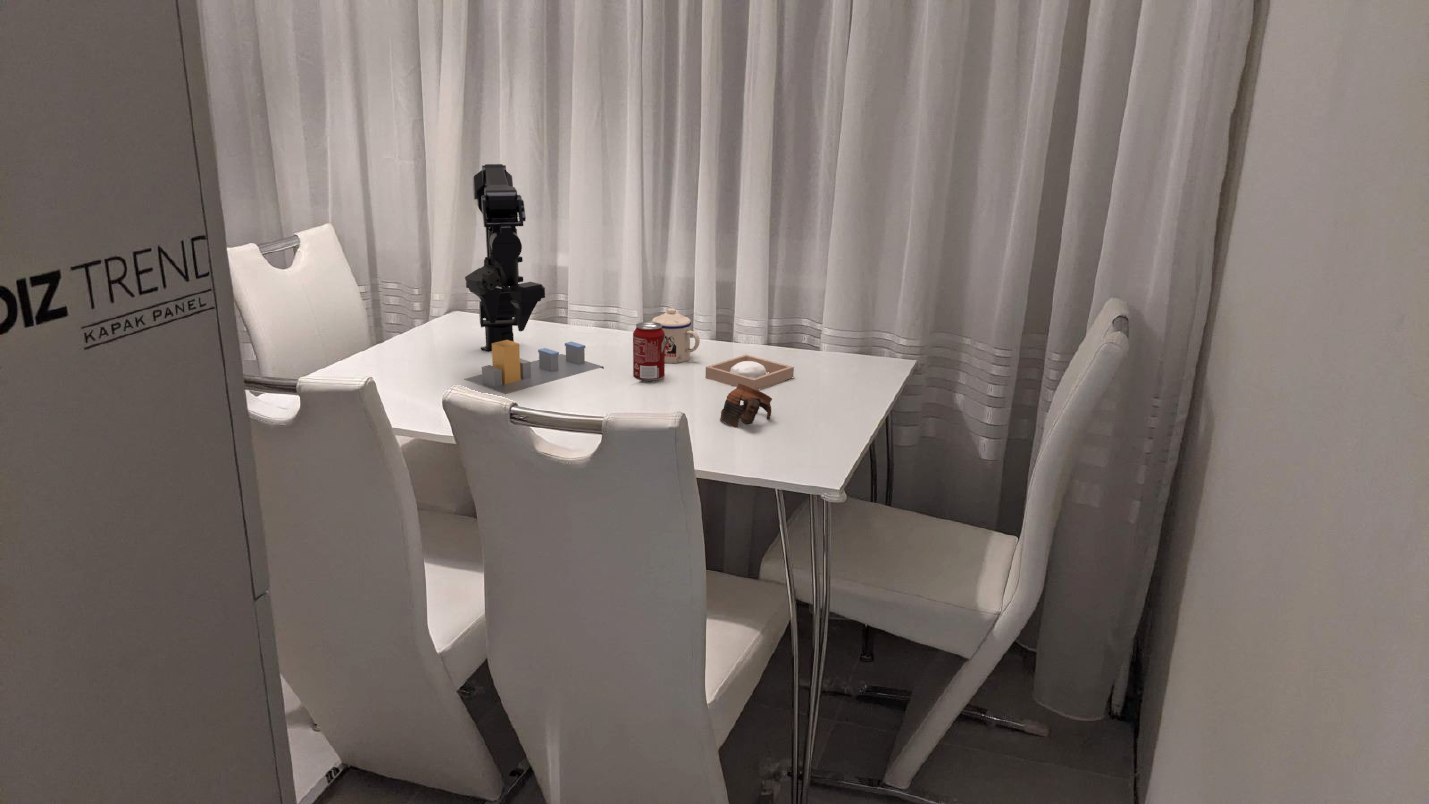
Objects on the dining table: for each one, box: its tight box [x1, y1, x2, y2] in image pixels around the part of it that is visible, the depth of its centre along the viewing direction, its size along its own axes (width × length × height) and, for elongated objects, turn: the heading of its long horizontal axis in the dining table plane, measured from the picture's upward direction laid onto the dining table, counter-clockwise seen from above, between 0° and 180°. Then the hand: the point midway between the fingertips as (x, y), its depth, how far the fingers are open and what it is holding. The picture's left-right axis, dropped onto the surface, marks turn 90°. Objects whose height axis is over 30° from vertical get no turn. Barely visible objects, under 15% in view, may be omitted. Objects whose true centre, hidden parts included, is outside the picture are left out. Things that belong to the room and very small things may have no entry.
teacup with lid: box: [651, 307, 701, 364], centre depth 243 cm, size 12×9×12 cm
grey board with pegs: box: [463, 340, 605, 395], centre depth 229 cm, size 14×27×5 cm, turn 139°
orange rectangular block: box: [491, 340, 521, 384], centre depth 223 cm, size 4×4×8 cm
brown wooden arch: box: [719, 384, 773, 428], centre depth 205 cm, size 12×10×8 cm
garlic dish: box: [705, 354, 795, 391], centre depth 232 cm, size 14×14×2 cm
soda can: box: [632, 321, 666, 383], centre depth 228 cm, size 7×7×12 cm
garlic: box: [730, 361, 767, 379], centre depth 232 cm, size 8×7×4 cm
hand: (506, 327), depth 220 cm, fingers open, 9 cm apart
